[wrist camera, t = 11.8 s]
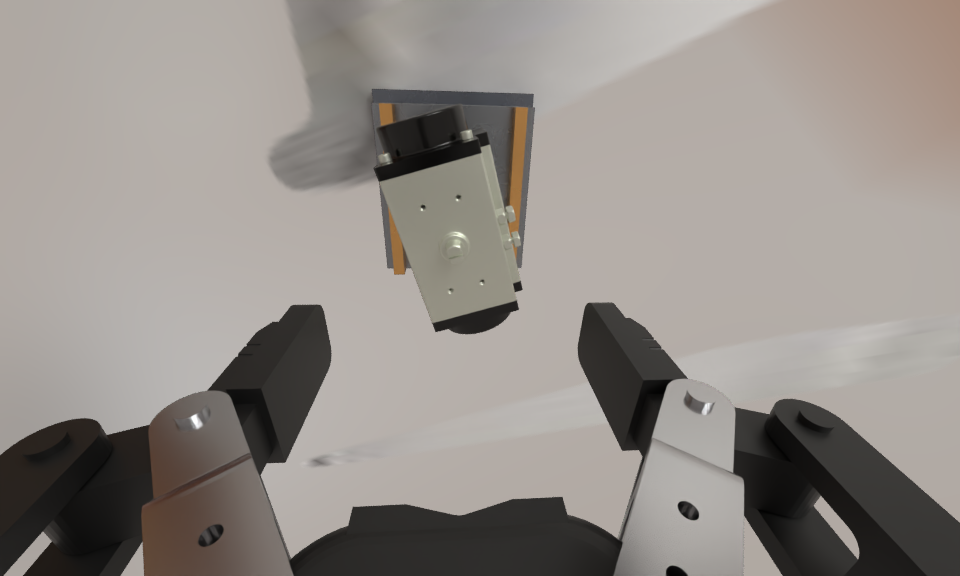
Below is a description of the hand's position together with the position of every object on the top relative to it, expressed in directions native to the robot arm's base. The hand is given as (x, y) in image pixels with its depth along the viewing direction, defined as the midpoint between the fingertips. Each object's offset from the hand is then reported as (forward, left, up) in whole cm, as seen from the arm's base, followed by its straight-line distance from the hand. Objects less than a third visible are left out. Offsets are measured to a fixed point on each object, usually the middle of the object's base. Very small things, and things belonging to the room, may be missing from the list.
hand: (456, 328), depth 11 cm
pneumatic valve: (0, 0, -18) cm, 18 cm away
